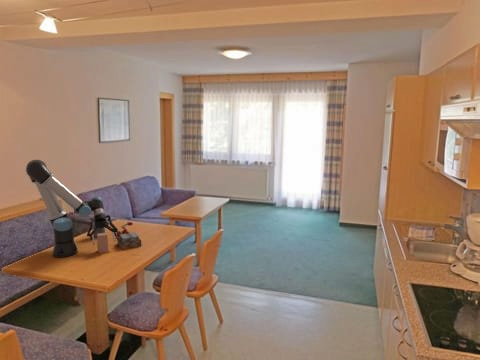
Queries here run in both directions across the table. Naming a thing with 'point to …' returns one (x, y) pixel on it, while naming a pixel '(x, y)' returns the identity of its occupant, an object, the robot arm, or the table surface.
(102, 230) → the coffeepot
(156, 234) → the table surface
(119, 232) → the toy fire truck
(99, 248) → the column brick
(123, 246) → the tower base
